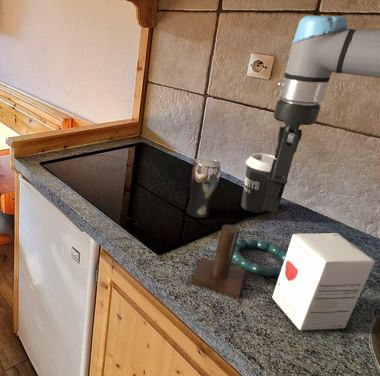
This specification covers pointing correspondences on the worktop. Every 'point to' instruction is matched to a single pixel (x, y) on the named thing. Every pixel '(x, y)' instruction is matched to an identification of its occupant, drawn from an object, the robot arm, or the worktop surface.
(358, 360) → the worktop surface
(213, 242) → the worktop surface
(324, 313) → the rectangular carton
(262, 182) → the coffee cup
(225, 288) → the post
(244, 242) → the ring
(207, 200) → the beer glass
